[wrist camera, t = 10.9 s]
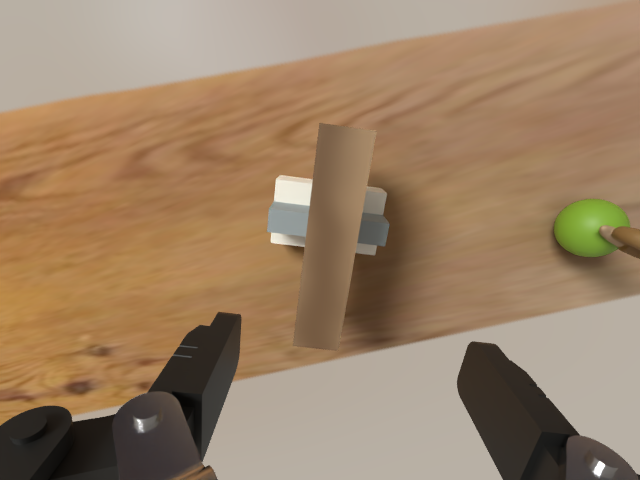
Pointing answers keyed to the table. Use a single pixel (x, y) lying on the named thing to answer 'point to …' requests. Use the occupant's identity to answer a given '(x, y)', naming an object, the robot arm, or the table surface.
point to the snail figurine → (596, 229)
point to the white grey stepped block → (294, 209)
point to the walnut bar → (332, 233)
